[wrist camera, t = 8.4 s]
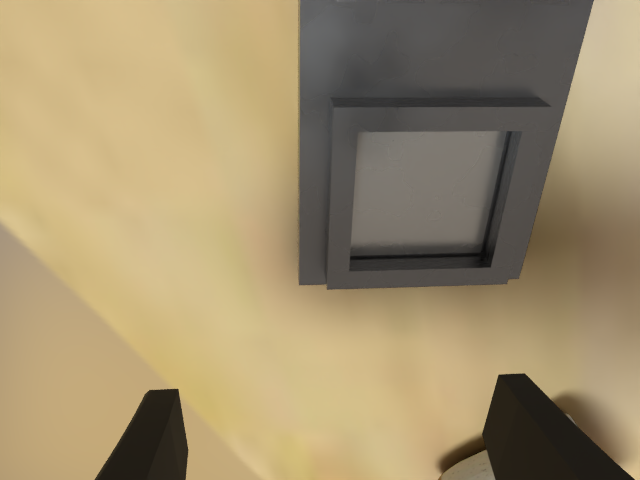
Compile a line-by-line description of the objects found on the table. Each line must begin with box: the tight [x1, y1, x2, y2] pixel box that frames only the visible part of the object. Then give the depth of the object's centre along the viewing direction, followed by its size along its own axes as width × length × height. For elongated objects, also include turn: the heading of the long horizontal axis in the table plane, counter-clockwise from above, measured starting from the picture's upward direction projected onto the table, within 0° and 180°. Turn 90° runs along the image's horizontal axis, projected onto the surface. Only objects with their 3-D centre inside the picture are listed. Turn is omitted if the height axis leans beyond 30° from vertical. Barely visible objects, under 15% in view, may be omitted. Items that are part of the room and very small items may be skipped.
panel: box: [298, 0, 594, 290], centre depth 17 cm, size 9×18×2 cm, turn 179°
